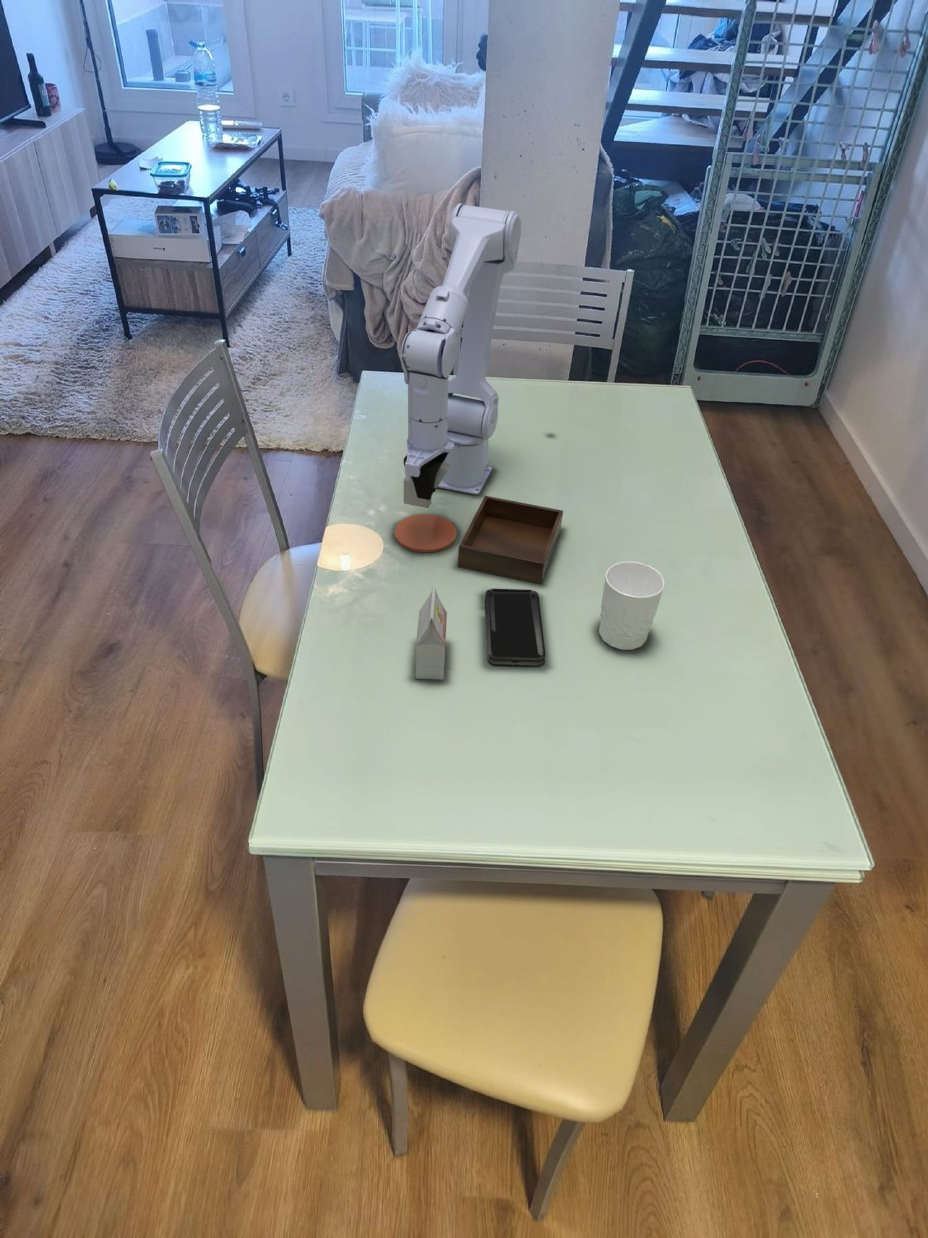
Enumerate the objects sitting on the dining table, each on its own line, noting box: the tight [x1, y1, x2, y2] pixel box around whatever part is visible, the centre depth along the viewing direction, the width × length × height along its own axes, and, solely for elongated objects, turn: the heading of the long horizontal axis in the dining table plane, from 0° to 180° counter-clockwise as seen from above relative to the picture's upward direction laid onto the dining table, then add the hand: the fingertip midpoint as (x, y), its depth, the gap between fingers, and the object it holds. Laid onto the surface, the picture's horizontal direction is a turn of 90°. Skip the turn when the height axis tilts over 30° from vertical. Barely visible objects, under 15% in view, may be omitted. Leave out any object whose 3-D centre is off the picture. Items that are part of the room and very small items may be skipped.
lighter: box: [403, 461, 451, 509], centre depth 126 cm, size 7×2×8 cm, turn 74°
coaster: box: [394, 513, 458, 553], centre depth 133 cm, size 10×10×1 cm
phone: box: [484, 588, 546, 667], centre depth 116 cm, size 8×1×15 cm
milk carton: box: [415, 587, 448, 681], centre depth 107 cm, size 4×7×10 cm, turn 179°
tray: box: [457, 495, 564, 585], centre depth 130 cm, size 15×13×4 cm
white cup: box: [598, 560, 666, 651], centre depth 113 cm, size 8×8×10 cm
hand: (426, 494), depth 128 cm, fingers closed on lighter, 2 cm apart
